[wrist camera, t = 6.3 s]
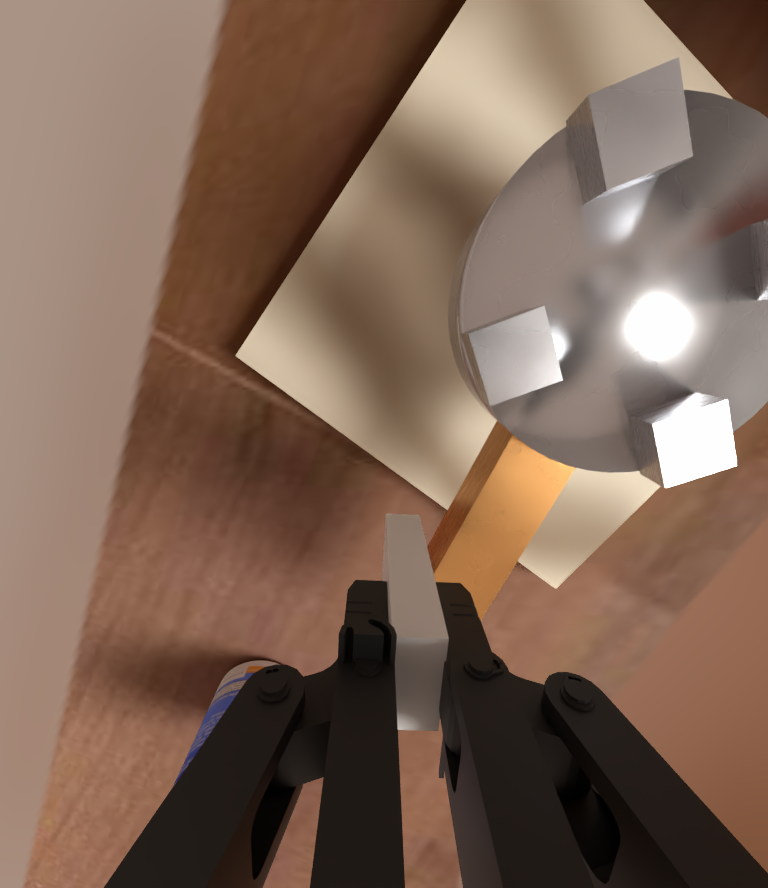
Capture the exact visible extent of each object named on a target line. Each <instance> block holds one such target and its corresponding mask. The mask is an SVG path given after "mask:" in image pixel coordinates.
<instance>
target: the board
mask: <svg viewBox="0 0 768 888" xmlns="http://www.w3.org/2000/svg"><path fill="white" fill-rule="evenodd" d="M677 57H679V60H680V67H681V74H682V81H683V88H684V90H692V91H700V92H708V93H713V94H717V95H720V96H724V97H727V98H730V99H733V98H732V97H731V96H730V95H729V94H728V93H727V92H726V90H725V89H724V88H723V87H722V86H721V85H720V84H719V83H718V82H717V81H716V79H715V78H714V77H713V76H712V75H711V74H710V73H709V72H708V71H707V70H706V69H705V67H704V66H703V65H702V64H701V63H700V62H699V61H698V60H697V59H696V58H695V56H694V55H693V54H692V53H691V52H690V51H689V50H688V49H687V48H686V47H685V45H684V44H683V43H682V42H681V41H680V40H679V39H678V38H677V37H676V36H675V34H674V33H673V32H672V31H671V30H670V29H669V28H668V27H667V26H666V25H665V23H664V22H663V21H662V20H661V19H660V18H659V17H658V16H657V15H656V14H655V13H654V11H653V10H652V9H651V8H650V7H649V6H648V5H647V4H646V3H645V2H644V0H466V2H465V3H464V5H463V6H462V8H461V9H460V11H459V13H458V14H457V16H456V17H455V19H454V20H453V22H452V23H451V25H450V26H449V28H448V29H447V31H446V33H445V34H444V36H443V37H442V39H441V40H440V42H439V43H438V45H437V46H436V48H435V49H434V51H433V53H432V54H431V56H430V57H429V59H428V60H427V62H426V63H425V65H424V66H423V68H422V69H421V71H420V73H419V74H418V76H417V77H416V79H415V80H414V82H413V83H412V85H411V86H410V88H409V89H408V91H407V93H406V94H405V96H404V97H403V99H402V100H401V102H400V103H399V105H398V106H397V108H396V109H395V111H394V113H393V114H392V116H391V117H390V119H389V120H388V122H387V123H386V125H385V126H384V128H383V129H382V131H381V133H380V134H379V136H378V137H377V139H376V140H375V142H374V143H373V145H372V146H371V148H370V149H369V151H368V153H367V154H366V156H365V157H364V159H363V160H362V162H361V163H360V165H359V166H358V168H357V169H356V171H355V173H354V174H353V176H352V177H351V179H350V180H349V182H348V183H347V185H346V186H345V188H344V189H343V191H342V193H341V194H340V196H339V197H338V199H337V200H336V202H335V203H334V205H333V206H332V208H331V209H330V211H329V213H328V214H327V216H326V217H325V219H324V220H323V222H322V223H321V225H320V226H319V228H318V229H317V231H316V232H315V234H314V236H313V237H312V239H311V240H310V242H309V243H308V245H307V246H306V248H305V249H304V251H303V252H302V254H301V256H300V257H299V259H298V260H297V262H296V263H295V265H294V266H293V268H292V269H291V271H290V272H289V274H288V276H287V277H286V279H285V280H284V282H283V283H282V285H281V286H280V288H279V289H278V291H277V292H276V294H275V296H274V297H273V299H272V300H271V302H270V303H269V305H268V306H267V308H266V309H265V311H264V312H263V314H262V316H261V317H260V319H259V320H258V322H257V323H256V325H255V326H254V328H253V329H252V331H251V332H250V334H249V336H248V337H247V339H246V340H245V342H244V343H243V345H242V346H241V348H240V349H239V351H238V352H237V354H236V357H237V358H239V359H240V360H242V361H243V362H244V363H246V364H247V365H248V366H250V367H251V368H253V369H254V370H255V371H257V372H258V373H259V374H261V375H262V376H264V377H265V378H266V379H268V380H269V381H270V382H272V383H273V384H275V385H276V386H277V387H279V388H280V389H281V390H283V391H284V392H286V393H287V394H288V395H290V396H291V397H292V398H294V399H295V400H297V401H298V402H299V403H301V404H302V405H303V406H305V407H306V408H308V409H309V410H310V411H312V412H313V413H314V414H316V415H317V416H319V417H320V418H321V419H323V420H324V421H325V422H327V423H328V424H330V425H331V426H332V427H334V428H335V429H336V430H338V431H339V432H341V433H342V434H343V435H345V436H346V437H347V438H349V439H350V440H352V441H353V442H354V443H356V444H357V445H358V446H360V447H361V448H363V449H364V450H365V451H367V452H368V453H369V454H371V455H372V456H374V457H375V458H376V459H378V460H379V461H380V462H382V463H383V464H385V465H386V466H387V467H389V468H390V469H391V470H393V471H394V472H396V473H397V474H398V475H400V476H401V477H402V478H404V479H405V480H407V481H408V482H409V483H411V484H412V485H413V486H415V487H416V488H418V489H419V490H420V491H422V492H423V493H424V494H426V495H427V496H429V497H430V498H431V499H433V500H434V501H435V502H437V503H438V504H440V505H441V506H442V507H444V508H445V509H446V510H448V509H449V507H450V505H451V503H452V501H453V500H454V498H455V496H456V494H457V492H458V491H459V489H460V487H461V485H462V483H463V481H464V480H465V478H466V476H467V474H468V472H469V471H470V469H471V467H472V465H473V463H474V461H475V460H476V458H477V456H478V454H479V452H480V451H481V449H482V447H483V445H484V443H485V442H486V440H487V438H488V436H489V434H490V432H491V431H492V429H493V427H494V425H495V423H496V422H497V421H496V420H495V419H494V418H493V417H492V416H491V415H490V414H489V413H488V412H487V411H486V410H485V409H484V408H483V407H482V406H481V405H480V404H479V403H478V402H477V400H476V399H475V398H474V396H473V395H472V394H471V392H470V391H469V389H468V387H467V386H466V384H465V382H464V380H463V378H462V377H461V375H460V372H459V369H458V367H457V364H456V362H455V359H454V355H453V351H452V347H451V343H450V336H449V327H448V302H449V294H450V287H451V281H452V278H453V274H454V270H455V267H456V263H457V260H458V258H459V255H460V253H461V250H462V248H463V245H464V243H465V241H466V239H467V237H468V236H469V234H470V232H471V230H472V228H473V226H474V225H475V223H476V222H477V220H478V219H479V218H480V216H481V215H482V213H483V212H484V210H485V209H486V208H487V206H488V205H489V204H490V203H491V201H492V200H493V199H494V198H495V197H496V195H497V194H498V193H499V192H500V191H501V189H502V188H503V187H504V186H505V185H506V183H507V182H508V181H509V180H510V179H511V177H512V176H513V175H514V174H515V173H516V172H517V170H518V169H519V168H520V167H521V166H522V165H523V164H524V163H525V162H526V161H527V159H528V158H529V157H530V156H531V155H532V154H533V153H534V152H535V151H536V150H537V149H538V148H540V147H541V146H542V145H543V144H544V143H545V142H546V141H548V140H549V139H550V138H551V137H552V136H553V135H555V134H556V133H557V132H559V131H560V130H562V129H563V128H565V127H566V126H567V125H566V120H567V119H568V118H569V117H570V115H571V114H572V113H573V112H574V111H575V110H576V109H577V107H578V106H579V105H580V104H581V103H582V102H583V100H584V99H585V98H586V97H587V96H588V95H589V94H592V93H594V92H597V91H599V90H601V89H604V88H606V87H608V86H611V85H613V84H616V83H618V82H620V81H623V80H625V79H627V78H630V77H632V76H634V75H637V74H639V73H642V72H644V71H646V70H649V69H651V68H653V67H656V66H658V65H661V64H663V63H665V62H668V61H670V60H672V59H675V58H677ZM659 487H660V485H658V484H657V483H655V482H653V481H651V480H650V479H648V478H646V477H644V476H643V475H641V474H640V471H634V472H614V473H607V472H598V471H588V470H584V469H580V468H576V469H575V470H574V472H573V473H572V475H571V477H570V478H569V480H568V481H567V483H566V485H565V486H564V488H563V489H562V491H561V493H560V494H559V496H558V497H557V499H556V501H555V502H554V504H553V505H552V507H551V509H550V510H549V512H548V513H547V515H546V516H545V518H544V520H543V521H542V523H541V524H540V526H539V528H538V529H537V531H536V532H535V534H534V536H533V537H532V539H531V540H530V542H529V544H528V545H527V547H526V548H525V550H524V552H523V553H522V555H521V556H520V558H519V560H518V562H519V563H521V564H522V565H523V566H525V567H526V568H528V569H529V570H530V571H532V572H533V573H534V574H536V575H537V576H539V577H540V578H541V579H543V580H544V581H545V582H547V583H548V584H550V585H551V586H552V587H554V588H555V589H556V588H557V587H558V586H559V585H560V584H561V583H562V582H563V581H564V580H565V579H566V578H567V577H568V576H569V575H570V574H571V573H572V572H573V571H575V570H576V569H577V568H578V567H579V566H580V565H581V564H582V563H583V562H584V561H585V560H586V559H587V558H588V557H589V556H590V555H591V554H592V553H593V552H594V551H595V550H596V549H597V548H598V547H599V546H600V545H601V544H602V543H603V542H604V541H605V540H606V539H607V538H608V537H609V536H610V535H611V534H612V533H613V532H614V531H615V530H616V529H617V528H618V527H619V526H621V525H622V524H623V523H624V522H625V521H626V520H627V519H628V518H629V517H630V516H631V515H632V514H633V513H634V512H635V511H636V510H637V509H638V508H639V507H640V506H641V505H642V504H643V503H644V502H645V501H646V500H647V499H648V498H649V497H650V496H651V495H652V494H653V493H654V492H655V491H656V490H657V489H658V488H659Z"/></svg>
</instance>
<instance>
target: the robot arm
mask: <svg viewBox="0 0 768 888" xmlns="http://www.w3.org/2000/svg"><path fill="white" fill-rule="evenodd" d="M439 719H441V725H442V731H443V741H442V749H441V757H440V766H439V778H444V770H445V777H446V783H447V789H448V796H449V802H450V808H451V814H452V821H453V827H454V833H455V839H456V846H457V852H458V858H459V865H460V871H461V877H462V883H463V888H768V873H767V872H766V871H765V870H764V869H763V868H762V867H761V865H760V864H759V863H758V862H757V861H756V860H755V859H754V858H753V857H752V856H751V855H750V853H749V852H748V851H747V850H746V849H745V848H744V847H743V846H742V845H741V843H740V842H739V841H738V840H737V839H736V838H735V837H734V836H733V835H732V834H731V833H730V831H729V830H728V829H727V828H726V827H725V826H724V825H723V824H722V823H721V822H720V820H719V819H718V818H717V817H716V816H715V815H714V814H713V813H712V812H711V811H710V809H709V808H708V807H707V806H706V805H705V804H704V803H703V802H702V801H701V800H700V799H699V797H698V796H697V795H696V794H695V793H694V792H693V791H692V790H691V789H690V787H689V786H688V785H687V784H686V783H685V782H684V781H683V780H682V779H681V778H680V776H679V775H678V774H677V773H676V772H675V771H674V770H673V769H672V768H671V767H670V765H669V764H668V763H667V762H666V761H665V760H664V759H663V758H662V757H661V756H660V754H659V753H658V752H657V751H656V750H655V749H654V748H653V747H652V746H651V745H650V743H648V741H647V740H646V739H645V738H644V737H643V736H642V735H641V734H640V732H639V731H638V730H637V729H636V728H635V727H634V726H633V725H632V724H631V723H630V722H629V720H628V719H627V718H626V717H625V716H624V715H623V714H622V713H621V712H620V711H619V709H618V708H617V707H616V706H615V705H614V704H613V703H612V702H611V701H610V699H609V698H608V697H607V696H606V695H605V694H604V693H603V692H602V691H601V690H600V689H599V688H598V687H597V686H596V685H594V684H593V683H592V682H591V681H589V680H587V679H585V678H583V677H581V676H579V675H576V674H572V673H569V672H557V673H554V674H552V675H550V676H549V677H548V678H547V680H546V682H545V685H543V684H539V683H536V682H532V681H529V680H526V679H523V678H520V677H518V676H515V675H513V674H512V673H510V672H509V670H508V668H507V666H506V665H505V663H504V662H503V660H502V659H500V658H499V657H498V656H497V655H496V654H494V653H492V651H491V649H490V646H489V643H488V640H487V638H486V635H485V632H484V629H483V626H482V624H481V621H480V618H479V617H478V613H477V610H476V607H475V604H474V601H473V599H472V596H471V593H470V592H469V591H468V590H467V589H466V588H465V587H464V586H463V585H462V584H461V583H449V582H435V578H434V574H433V570H432V565H431V561H430V557H429V553H428V548H427V544H426V540H425V536H424V531H423V527H422V523H421V519H420V515H406V514H386V521H385V538H384V554H383V570H382V581H368V580H355V581H354V583H353V584H352V585H351V587H350V588H349V589H348V594H347V603H346V612H345V620H344V625H343V626H342V627H341V630H340V632H339V648H338V659H337V660H336V662H335V663H333V664H332V665H331V666H330V667H329V668H327V669H325V670H324V671H321V672H319V673H316V674H312V675H308V676H304V677H303V676H302V675H301V674H300V672H299V671H298V670H297V669H295V668H293V667H290V666H288V665H278V664H276V665H272V666H267V667H264V668H262V669H260V670H258V671H257V672H255V673H254V674H253V675H252V676H251V677H250V678H249V679H248V680H247V681H246V682H245V683H244V685H243V686H242V688H241V689H240V691H239V692H238V694H237V695H236V696H235V698H234V699H233V701H232V702H231V704H230V705H229V707H228V708H227V710H226V711H225V712H224V714H223V715H222V717H221V718H220V720H219V721H218V723H217V724H216V726H215V727H214V728H213V730H212V731H211V733H210V734H209V736H208V737H207V739H206V740H205V742H204V743H203V744H202V746H201V747H200V749H199V750H198V752H197V753H196V755H195V756H194V757H193V759H192V760H191V762H190V763H189V765H188V766H187V768H186V769H185V771H184V772H183V773H182V775H181V776H180V778H179V779H178V781H177V782H176V784H175V785H174V787H173V788H172V789H171V791H170V792H169V794H168V795H167V797H166V798H165V800H164V801H163V803H162V804H161V805H160V807H159V808H158V810H157V811H156V813H155V814H154V816H153V817H152V818H151V820H150V821H149V823H148V824H147V826H146V827H145V829H144V830H143V832H142V833H141V834H140V836H139V837H138V839H137V840H136V842H135V843H134V845H133V846H132V848H131V849H130V850H129V852H128V853H127V855H126V856H125V858H124V859H123V861H122V862H121V864H120V865H119V866H118V868H117V869H116V871H115V872H114V874H113V875H112V877H111V878H110V879H109V881H108V882H107V884H106V885H105V887H104V888H263V885H264V883H265V880H266V878H267V875H268V873H269V870H270V868H271V865H272V863H273V860H274V858H275V855H276V853H277V850H278V848H279V845H280V843H281V840H282V838H283V835H284V833H285V830H286V828H287V825H288V823H289V820H290V818H291V815H292V813H293V810H294V808H295V805H296V803H297V800H298V798H299V795H300V793H301V790H302V787H303V784H304V783H307V782H310V781H313V780H316V779H319V778H322V777H324V780H323V788H322V796H321V804H320V812H319V820H318V828H317V836H316V844H315V852H314V860H313V868H312V876H311V884H310V888H405V880H404V858H403V836H402V814H401V792H400V770H399V748H398V730H424V731H438V728H439Z"/></svg>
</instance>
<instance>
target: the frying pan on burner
mask: <svg viewBox="0 0 768 888" xmlns="http://www.w3.org/2000/svg"><path fill="white" fill-rule="evenodd" d="M566 125H567V126H566V127H565V128H563V129H562V130H560V131H559V132H557V133H556V134H555V135H553V136H552V137H551V138H550V139H549V140H548V141H546V142H545V143H544V144H543V145H542V146H541V147H540V148H538V149H537V150H536V151H535V152H534V153H533V154H532V155H531V156H530V157H529V158H528V159H527V161H526V162H525V163H524V164H523V165H522V166H521V167H520V168H519V169H518V170H517V172H516V173H515V174H514V175H513V176H512V177H511V179H510V180H509V181H508V182H507V183H506V185H505V186H504V187H503V188H502V189H501V191H500V192H499V193H498V194H497V195H496V197H495V198H494V199H493V200H492V201H491V203H490V204H489V205H488V206H487V208H486V209H485V210H484V212H483V213H482V215H481V216H480V218H479V219H478V220H477V222H476V223H475V225H474V226H473V228H472V230H471V232H470V234H469V236H468V237H467V239H466V241H465V243H464V245H463V248H462V250H461V253H460V255H459V258H458V260H457V263H456V267H455V270H454V274H453V278H452V281H451V287H450V294H449V302H448V327H449V336H450V343H451V347H452V351H453V355H454V359H455V362H456V364H457V367H458V369H459V372H460V375H461V377H462V378H463V380H464V382H465V384H466V386H467V387H468V389H469V391H470V392H471V394H472V395H473V396H474V398H475V399H476V400H477V402H478V403H479V404H480V405H481V406H482V407H483V408H484V409H485V410H486V411H487V412H488V413H489V414H490V415H491V416H492V417H493V418H494V419H495V420H496V421H497V422H496V423H495V425H494V427H493V429H492V431H491V432H490V434H489V436H488V438H487V440H486V442H485V443H484V445H483V447H482V449H481V451H480V452H479V454H478V456H477V458H476V460H475V461H474V463H473V465H472V467H471V469H470V471H469V472H468V474H467V476H466V478H465V480H464V481H463V483H462V485H461V487H460V489H459V491H458V492H457V494H456V496H455V498H454V500H453V501H452V503H451V505H450V507H449V509H448V511H447V512H446V514H445V516H444V518H443V520H442V521H441V523H440V525H439V527H438V529H437V531H436V532H435V534H434V536H433V538H432V540H431V541H430V543H429V545H428V547H427V548H428V553H429V557H430V561H431V565H432V570H433V574H434V578H435V582H449V583H461V584H462V585H463V586H464V587H465V588H466V589H467V590H468V591H469V592H470V593H471V596H472V599H473V601H474V604H475V607H476V610H477V613H478V617H479V618H480V620H481V619H482V617H483V616H484V614H485V612H486V611H487V609H488V608H489V606H490V604H491V603H492V601H493V600H494V598H495V596H496V595H497V593H498V592H499V590H500V588H501V587H502V585H503V584H504V582H505V580H506V579H507V577H508V576H509V574H510V572H511V571H512V569H513V568H514V566H515V564H516V563H517V561H518V560H519V558H520V556H521V555H522V553H523V552H524V550H525V548H526V547H527V545H528V544H529V542H530V540H531V539H532V537H533V536H534V534H535V532H536V531H537V529H538V528H539V526H540V524H541V523H542V521H543V520H544V518H545V516H546V515H547V513H548V512H549V510H550V509H551V507H552V505H553V504H554V502H555V501H556V499H557V497H558V496H559V494H560V493H561V491H562V489H563V488H564V486H565V485H566V483H567V481H568V480H569V478H570V477H571V475H572V473H573V472H574V470H575V469H576V468H580V469H584V470H588V471H598V472H607V473H614V472H634V471H640V474H641V475H643V476H644V477H646V478H648V479H650V480H651V481H653V482H655V483H657V484H658V485H660V486H662V487H663V488H668V487H671V486H675V485H678V484H681V483H684V482H687V481H690V480H693V479H697V478H700V477H703V476H706V475H709V474H712V473H715V472H719V471H722V470H725V469H728V468H731V467H734V466H737V461H736V454H735V447H734V440H733V432H734V431H735V430H737V429H738V428H739V427H740V426H742V425H743V424H744V423H745V422H746V421H748V420H749V419H750V418H751V417H753V416H754V415H755V414H756V413H757V412H758V411H759V410H760V409H761V408H762V407H763V406H764V405H765V404H766V403H767V402H768V118H767V117H766V116H764V115H763V114H761V113H760V112H759V111H757V110H755V109H753V108H751V107H749V106H747V105H745V104H743V103H741V102H739V101H737V100H734V99H730V98H727V97H724V96H720V95H717V94H713V93H708V92H700V91H692V90H684V88H683V81H682V74H681V67H680V60H679V57H677V58H675V59H672V60H670V61H668V62H665V63H663V64H661V65H658V66H656V67H653V68H651V69H649V70H646V71H644V72H642V73H639V74H637V75H634V76H632V77H630V78H627V79H625V80H623V81H620V82H618V83H616V84H613V85H611V86H608V87H606V88H604V89H601V90H599V91H597V92H594V93H592V94H589V95H588V96H587V97H586V98H585V99H584V100H583V102H582V103H581V104H580V105H579V106H578V107H577V109H576V110H575V111H574V112H573V113H572V114H571V115H570V117H569V118H568V119H567V120H566Z"/></svg>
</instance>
